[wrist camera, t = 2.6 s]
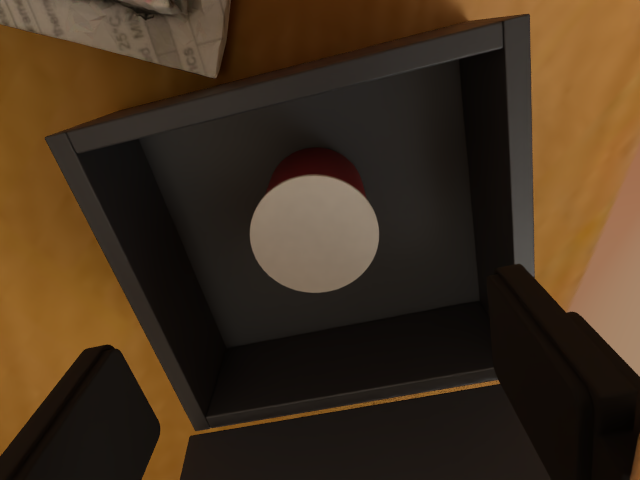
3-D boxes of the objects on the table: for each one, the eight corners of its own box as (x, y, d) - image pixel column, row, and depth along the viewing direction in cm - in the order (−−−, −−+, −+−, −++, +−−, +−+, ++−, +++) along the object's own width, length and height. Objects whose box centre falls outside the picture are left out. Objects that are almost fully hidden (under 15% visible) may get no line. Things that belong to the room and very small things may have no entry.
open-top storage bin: (117, 111, 20) (43, 137, 14) (469, 20, 18) (530, 13, 13) (220, 351, 26) (195, 431, 20) (490, 301, 24) (536, 374, 19)
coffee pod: (252, 157, 20) (232, 192, 15) (355, 132, 19) (366, 161, 15) (281, 248, 22) (270, 303, 17) (374, 228, 21) (388, 279, 17)
